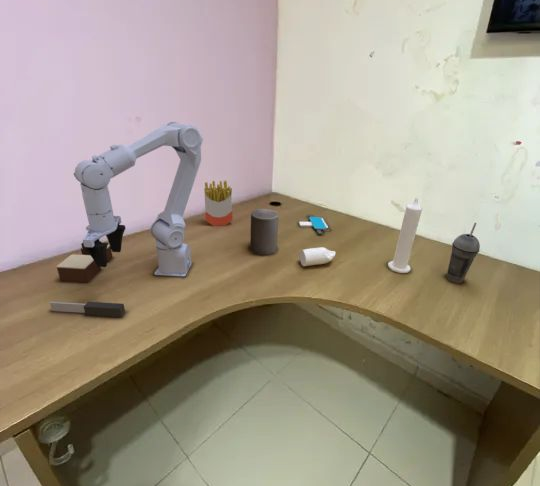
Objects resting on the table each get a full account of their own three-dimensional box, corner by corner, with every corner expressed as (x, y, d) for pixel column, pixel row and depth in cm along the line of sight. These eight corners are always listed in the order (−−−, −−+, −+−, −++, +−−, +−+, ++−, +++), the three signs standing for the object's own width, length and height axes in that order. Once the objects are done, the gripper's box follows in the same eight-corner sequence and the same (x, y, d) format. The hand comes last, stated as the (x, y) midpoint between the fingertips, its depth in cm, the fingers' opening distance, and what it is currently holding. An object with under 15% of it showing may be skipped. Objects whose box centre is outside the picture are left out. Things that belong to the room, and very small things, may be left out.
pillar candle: (245, 251, 109) (245, 212, 103) (256, 240, 118) (257, 203, 111) (271, 257, 106) (273, 217, 100) (280, 245, 114) (283, 207, 108)
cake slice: (112, 258, 102) (110, 244, 100) (108, 262, 99) (105, 248, 97) (88, 256, 102) (85, 243, 100) (83, 261, 99) (80, 247, 97)
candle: (410, 265, 105) (429, 195, 95) (409, 275, 99) (429, 202, 89) (388, 260, 108) (405, 191, 97) (386, 270, 102) (403, 198, 91)
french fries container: (232, 225, 129) (232, 183, 122) (206, 226, 127) (204, 184, 120) (231, 221, 133) (231, 180, 126) (206, 221, 131) (204, 180, 124)
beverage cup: (464, 275, 101) (485, 219, 92) (469, 287, 95) (492, 228, 86) (440, 270, 103) (458, 215, 94) (443, 282, 97) (463, 224, 88)
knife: (125, 312, 78) (123, 303, 77) (121, 317, 76) (119, 308, 75) (55, 308, 79) (52, 299, 77) (50, 313, 77) (47, 304, 76)
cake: (101, 269, 95) (97, 255, 93) (88, 282, 89) (84, 268, 87) (75, 268, 95) (71, 254, 93) (60, 281, 89) (56, 266, 87)
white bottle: (338, 265, 103) (340, 251, 101) (304, 269, 100) (306, 254, 98) (330, 257, 108) (332, 242, 106) (298, 260, 105) (299, 245, 103)
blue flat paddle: (296, 216, 142) (296, 212, 141) (321, 216, 143) (321, 212, 142) (303, 235, 124) (304, 231, 123) (332, 235, 125) (333, 231, 124)
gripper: (99, 199, 82) (108, 245, 88) (64, 221, 69) (78, 272, 75) (125, 201, 82) (133, 246, 88) (95, 223, 69) (107, 274, 75)
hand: (109, 258), depth 82 cm, fingers open, 7 cm apart
